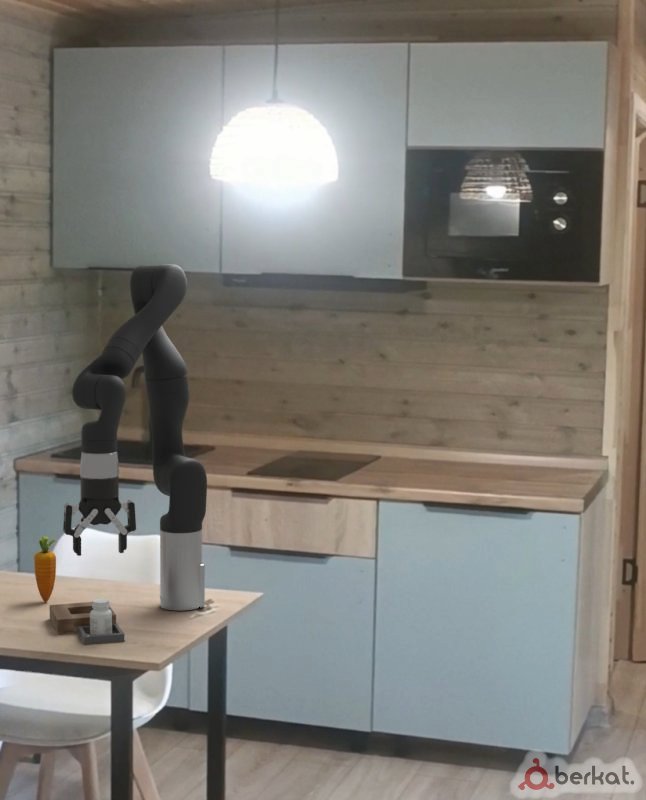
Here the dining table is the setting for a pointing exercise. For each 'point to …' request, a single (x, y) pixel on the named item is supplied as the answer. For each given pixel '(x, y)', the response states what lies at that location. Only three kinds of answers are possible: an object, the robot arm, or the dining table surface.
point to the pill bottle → (100, 617)
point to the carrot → (45, 569)
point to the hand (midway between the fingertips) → (99, 553)
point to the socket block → (72, 616)
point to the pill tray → (101, 638)
